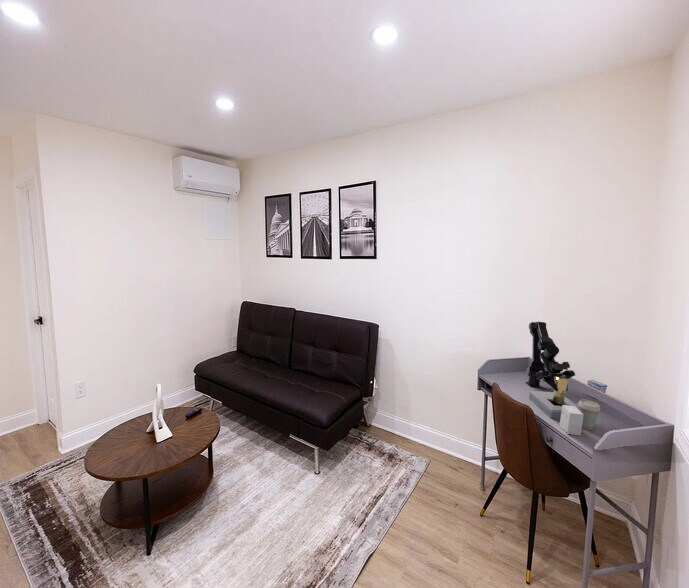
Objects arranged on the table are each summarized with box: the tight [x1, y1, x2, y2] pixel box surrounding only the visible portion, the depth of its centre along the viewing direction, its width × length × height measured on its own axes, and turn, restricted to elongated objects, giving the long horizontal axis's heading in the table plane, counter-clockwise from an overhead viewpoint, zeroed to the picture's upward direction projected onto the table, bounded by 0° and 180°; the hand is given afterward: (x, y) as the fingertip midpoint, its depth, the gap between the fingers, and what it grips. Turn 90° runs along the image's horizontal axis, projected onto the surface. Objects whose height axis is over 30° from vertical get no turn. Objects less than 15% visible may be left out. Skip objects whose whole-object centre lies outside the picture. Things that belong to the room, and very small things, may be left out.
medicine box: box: [586, 379, 608, 393], centre depth 184 cm, size 8×4×9 cm, turn 23°
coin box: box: [528, 390, 579, 420], centre depth 169 cm, size 20×16×4 cm
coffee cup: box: [577, 398, 601, 431], centre depth 153 cm, size 8×8×12 cm
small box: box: [559, 404, 584, 436], centre depth 149 cm, size 8×6×10 cm
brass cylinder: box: [552, 376, 569, 405], centre depth 166 cm, size 5×5×13 cm
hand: (562, 391), depth 164 cm, fingers closed on brass cylinder, 5 cm apart
